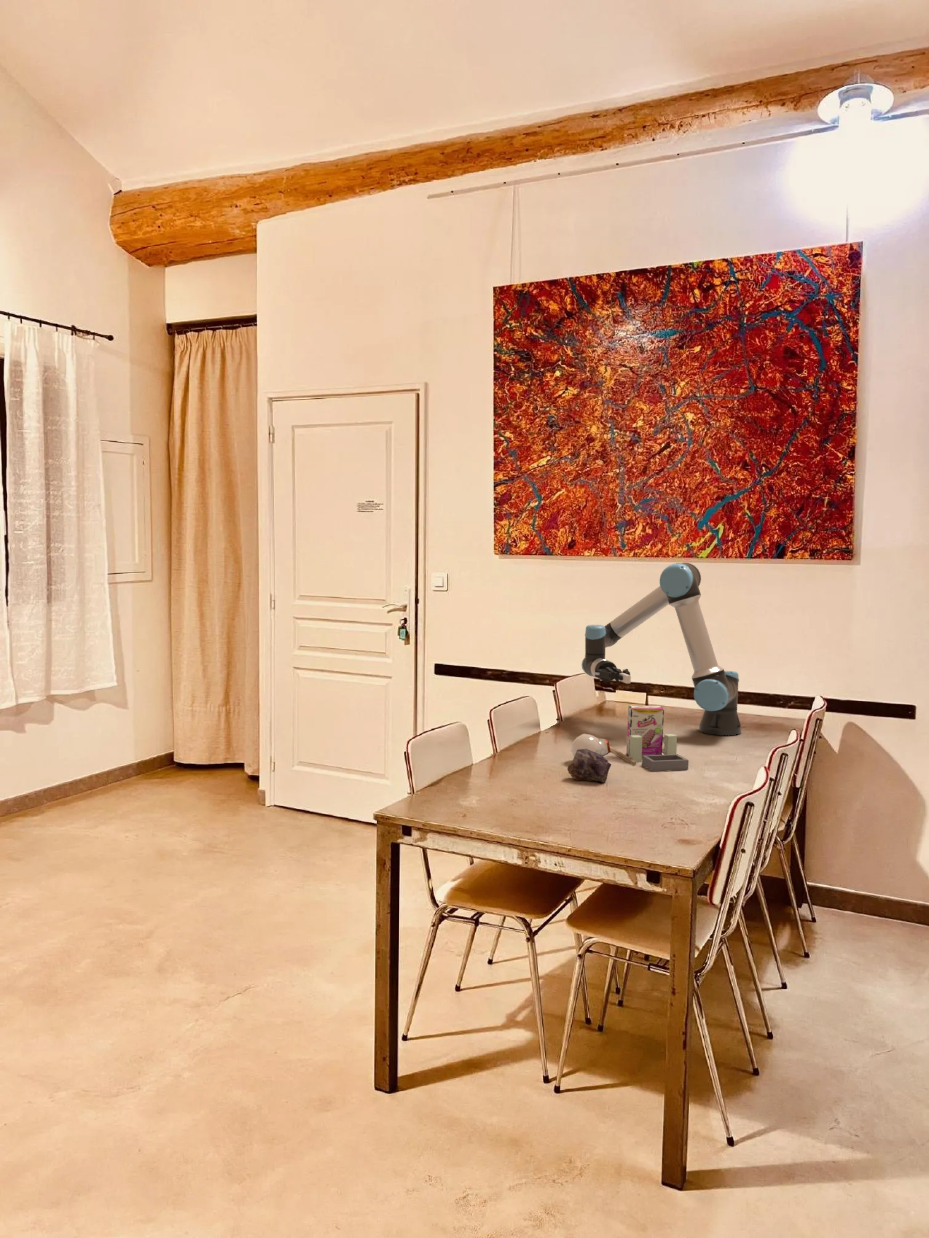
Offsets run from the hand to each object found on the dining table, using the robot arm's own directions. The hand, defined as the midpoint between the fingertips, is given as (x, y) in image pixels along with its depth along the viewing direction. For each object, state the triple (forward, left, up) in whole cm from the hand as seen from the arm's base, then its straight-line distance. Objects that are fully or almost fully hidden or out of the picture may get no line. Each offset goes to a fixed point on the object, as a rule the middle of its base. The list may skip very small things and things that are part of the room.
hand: (628, 679), depth 332 cm
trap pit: (0, +32, -23) cm, 39 cm away
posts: (0, +22, -23) cm, 32 cm away
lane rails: (0, +14, -23) cm, 27 cm away
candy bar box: (0, +16, -23) cm, 28 cm away
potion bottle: (+21, +20, -23) cm, 37 cm away
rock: (+28, +42, -23) cm, 56 cm away
